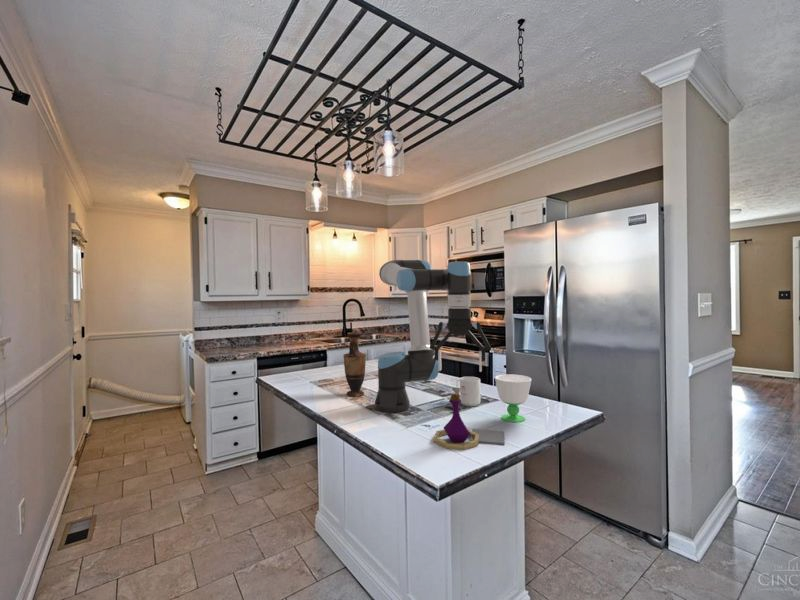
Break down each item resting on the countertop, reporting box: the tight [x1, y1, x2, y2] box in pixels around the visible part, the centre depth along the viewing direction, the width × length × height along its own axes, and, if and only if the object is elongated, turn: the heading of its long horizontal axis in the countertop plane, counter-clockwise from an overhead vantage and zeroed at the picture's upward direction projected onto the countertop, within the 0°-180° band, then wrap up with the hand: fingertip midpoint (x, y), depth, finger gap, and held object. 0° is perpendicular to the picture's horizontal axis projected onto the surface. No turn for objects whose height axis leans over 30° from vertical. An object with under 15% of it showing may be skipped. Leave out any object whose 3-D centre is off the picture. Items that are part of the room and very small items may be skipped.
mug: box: [455, 376, 481, 407], centre depth 174 cm, size 12×9×11 cm
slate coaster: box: [469, 428, 506, 446], centre depth 134 cm, size 11×11×1 cm
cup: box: [494, 373, 532, 423], centre depth 153 cm, size 14×14×16 cm
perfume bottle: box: [443, 386, 470, 443], centre depth 132 cm, size 8×8×18 cm
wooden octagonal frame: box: [433, 428, 479, 451], centre depth 132 cm, size 14×14×2 cm
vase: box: [343, 331, 367, 398], centre depth 191 cm, size 11×11×30 cm
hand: (460, 370), depth 133 cm, fingers open, 13 cm apart
